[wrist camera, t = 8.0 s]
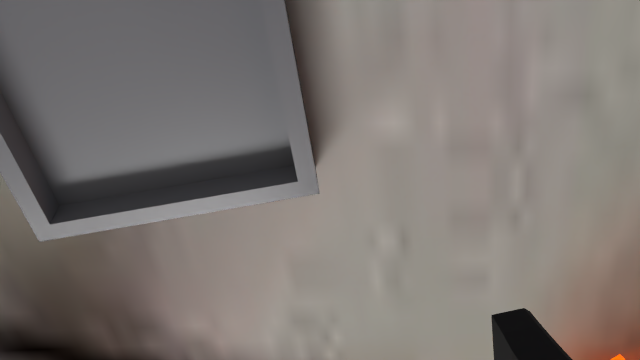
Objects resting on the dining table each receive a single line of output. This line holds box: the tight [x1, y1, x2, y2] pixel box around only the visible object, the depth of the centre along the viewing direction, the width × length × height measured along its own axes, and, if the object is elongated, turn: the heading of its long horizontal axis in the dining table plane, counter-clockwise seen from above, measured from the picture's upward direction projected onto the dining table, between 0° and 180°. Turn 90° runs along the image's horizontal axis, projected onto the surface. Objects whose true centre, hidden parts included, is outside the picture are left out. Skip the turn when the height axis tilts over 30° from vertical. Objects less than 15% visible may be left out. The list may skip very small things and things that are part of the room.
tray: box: [0, 0, 319, 242], centre depth 16 cm, size 9×10×2 cm
